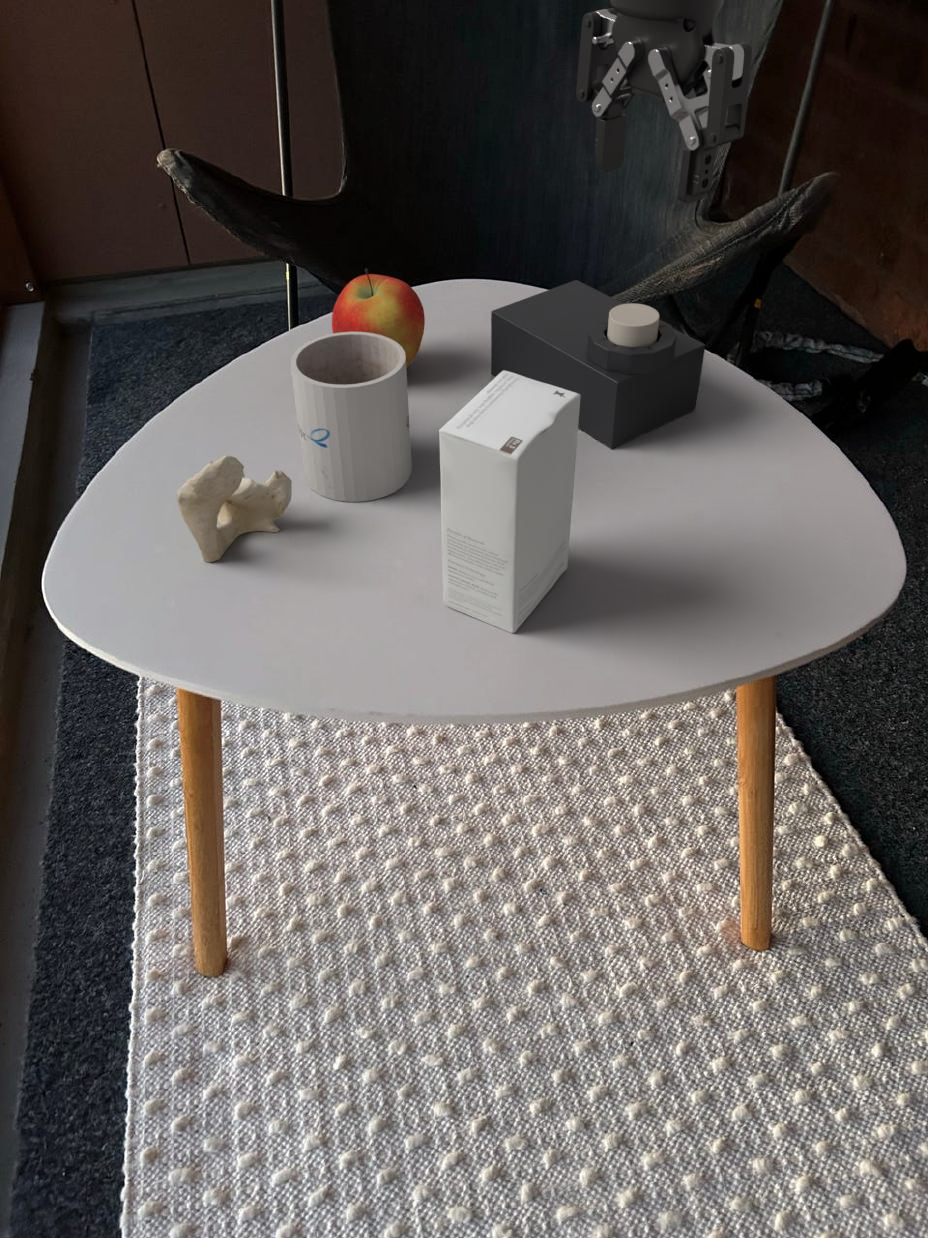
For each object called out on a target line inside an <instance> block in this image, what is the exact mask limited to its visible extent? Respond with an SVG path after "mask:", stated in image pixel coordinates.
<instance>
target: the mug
mask: <svg viewBox="0 0 928 1238" xmlns="http://www.w3.org/2000/svg"><path fill="white" fill-rule="evenodd" d="M289 361H290V372H291V373H290V374H291V379H292V380H291V381H292V389H293V396H294V403H295V410H296V417H297V425H298V433H299V440H300V448H301V455H302V461H303V462H302V463H303V471H304V477H305V481H306V483H307V486H309V487H310V489H311V490H312V491H313V492H315V493H317V494H318V495H320V496H322V497H325V498H327V499H330V500H333V501H338V502H339V501H340V502H345V503H346V502H347V503H360V502H369V501H374V500H378V499H381V498H384V497H388V496H389V495H392V494H393V493H396V492H397V491H399V490H400V489H402V488H403V487H404V486H405V485H406V484H407V483H408V481H409V479H410V477H411V475H412V471H413V464H412V450H411V449H412V447H411V428H410V410H409V391H408V390H409V389H408V376H407V374H408V372H407V368H406V356H405V351H404V350H403V348H402V347H401V346H400V345H399V344H398V343H397V342H395V341H394V340H392V339H390V338H388V337H385V336H382V335H378V334H374V333H367V332H340V333H334V334H333V333H329V334H325V335H321V336H318V337H315V338H313V339H310V340H309V341H306V342H305V343H303V344H301V345H300V346H299V347H298V348H296V349H295V350H294V352H293V353H292V355H291V357H290V360H289Z"/></svg>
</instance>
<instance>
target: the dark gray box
mask: <svg viewBox="0 0 928 1238" xmlns="http://www.w3.org/2000/svg"><path fill="white" fill-rule="evenodd" d="M622 304H624V303H623V302H621V301H620V300H617V299H615V298H613V297H612V296H609V295H607V294H605V293H603V292H601V291H599V290H598V289H596V288H594V287H592V286H590V285H587V284H585V283H584V282H582V281H580V280H577V279H575V280H573V281H570V282H569V281H568V282H567V283H563V284H561V285H558V286H556V287H553V288H550V289H547V290H545V291H542V292H540V293H537V294H534V295H531V296H529V297H525V298H523V299H520V300H519V301H514V302H512V303H509V304H507V305H504V306H501V307H499V308H496V309H492V310H491V312H490V313H491V314H490V316H491V319H490V320H491V321H490V324H491V325H490V326H491V327H490V333H491V334H490V339H491V342H490V345H491V346H490V374H491V375H492V376H494V378H495V377H496V376H497V375H498V374H500V373H501V372H502V371H509V372H512V373H516V374H518V375H521V376H524V377H527V378H530V379H533V380H536V381H539V382H543V383H546V384H550V385H553V386H556V387H559V388H563V389H566V390H569V391H572V392H575V393H578V394H580V409H579V422H578V430H580V431H581V432H583V433H585V434H587V435H588V436H589V437H591V438H593V439H594V440H597V441H598V442H599V443H601V444H603V445H604V446H606V447H607V448H609V449H611V450H613V449H615V448H617V447H620V446H621V445H623V444H626V443H628V442H631V441H632V440H634V439H636V438H639V437H640V436H642V435H645V434H647V433H649V432H651V431H653V430H655V429H657V428H659V427H661V426H664V425H666V424H668V423H671V422H672V421H674V420H676V419H678V418H681V417H683V416H685V415H687V414H689V413H692V412H694V411H696V410H697V406H698V405H697V403H698V398H699V390H700V385H701V376H702V371H703V364H704V356H705V349H706V344H704V343H703V342H701V341H699V340H697V339H695V338H693V337H691V336H689V335H687V334H685V333H683V332H681V331H679V330H677V329H675V328H673V326H672V325H671V324H669V323H667V322H665V321H663V320H661V319H659V325H658V334H657V341H656V342H655V343H653V344H651V345H649V346H642V347H628V346H622V345H617V344H615V343H613V342H611V341H609V340H608V338H607V333H608V320H609V312H610V310H611V309H612V308H614V307H616V306H618V305H622Z"/></svg>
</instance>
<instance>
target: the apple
mask: <svg viewBox="0 0 928 1238" xmlns="http://www.w3.org/2000/svg"><path fill="white" fill-rule="evenodd" d="M364 272H365V274H362V275H359V276H357V277H355V278H353V279H352V280H350V281H349V282H348V283H347V284H346V285H345V286H344V287H343V289H342V290H341V292H340V294H339V295H338V297H337V299H336V301H335V302H334V305H333V310H332V313H331V330H332V334H334V333H340V332H367V333H374V334H378V335H382V336H385V337H388V338H390V339H392V340H394V341H395V342H397V343H398V344H399V345H400V346H401V347H402V348H403V350H404V351H405V356H406V369H408V367H409V366H410V365H411V364H412V362H413V361H414V359H415V358H416V356H417V354H418V352H419V350H420V347H421V344H422V340H423V338H424V332H425V320H426V319H425V310H424V306H423V303H422V301H421V299H420V297H419V295H418V293H417V292H416V291H415V289H413V288H412V287H411V286H410V285H409V284H408V283H406V282H405V281H403V280H402V279H399V278H396V277H391V276H388V275H382V274H377V273H376V274H375V273H369V269H368V268H365V269H364Z"/></svg>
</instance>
